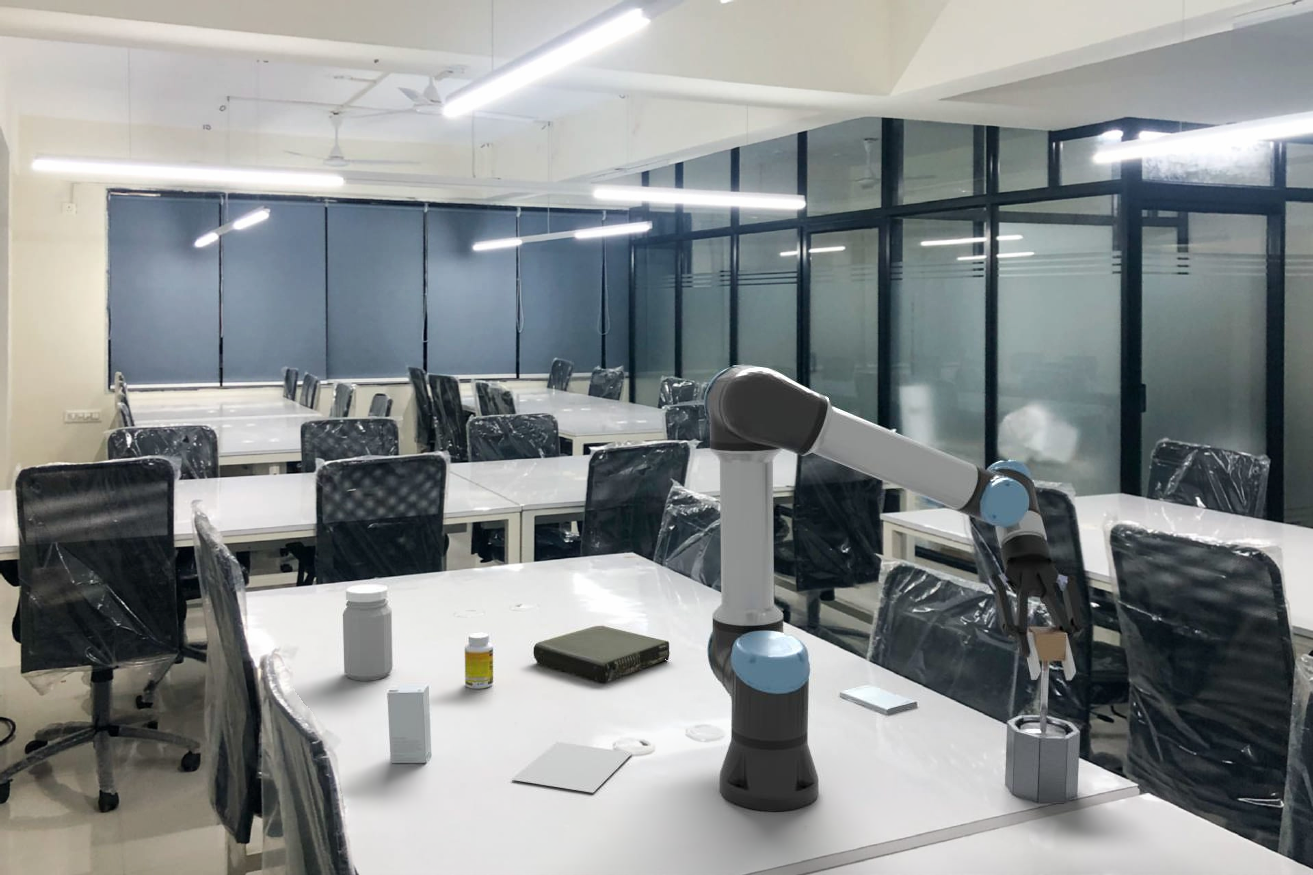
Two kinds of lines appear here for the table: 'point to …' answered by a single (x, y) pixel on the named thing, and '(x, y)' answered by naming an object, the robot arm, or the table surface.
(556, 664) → the network switch
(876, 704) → the hard drive
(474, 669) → the supplement bottle
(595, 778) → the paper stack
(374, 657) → the jar
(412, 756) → the skincare box
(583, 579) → the table surface
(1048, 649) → the plunger
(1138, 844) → the table surface
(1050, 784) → the octagonal metal cup
